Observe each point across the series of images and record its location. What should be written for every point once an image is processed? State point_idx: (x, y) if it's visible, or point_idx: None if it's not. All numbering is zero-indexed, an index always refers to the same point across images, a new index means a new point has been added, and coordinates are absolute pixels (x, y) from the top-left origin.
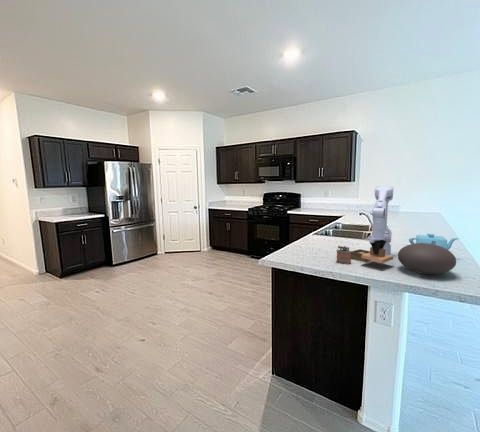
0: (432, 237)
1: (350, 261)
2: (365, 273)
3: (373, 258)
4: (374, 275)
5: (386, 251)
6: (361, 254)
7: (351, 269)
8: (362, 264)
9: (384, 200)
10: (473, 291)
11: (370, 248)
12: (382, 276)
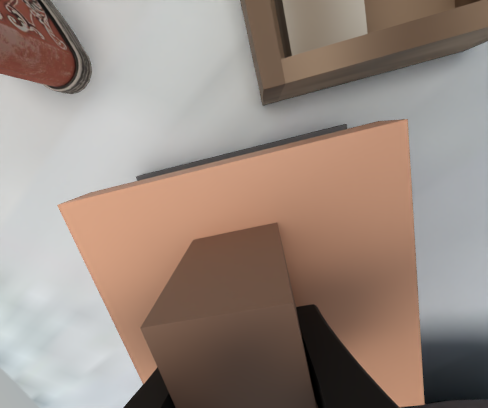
0: None
1: (55, 83)
2: (52, 322)
3: (135, 345)
4: (83, 367)
5: None
6: (246, 12)
7: (3, 220)
8: (160, 171)
9: None
10: None
11: (154, 318)
12: (117, 395)
